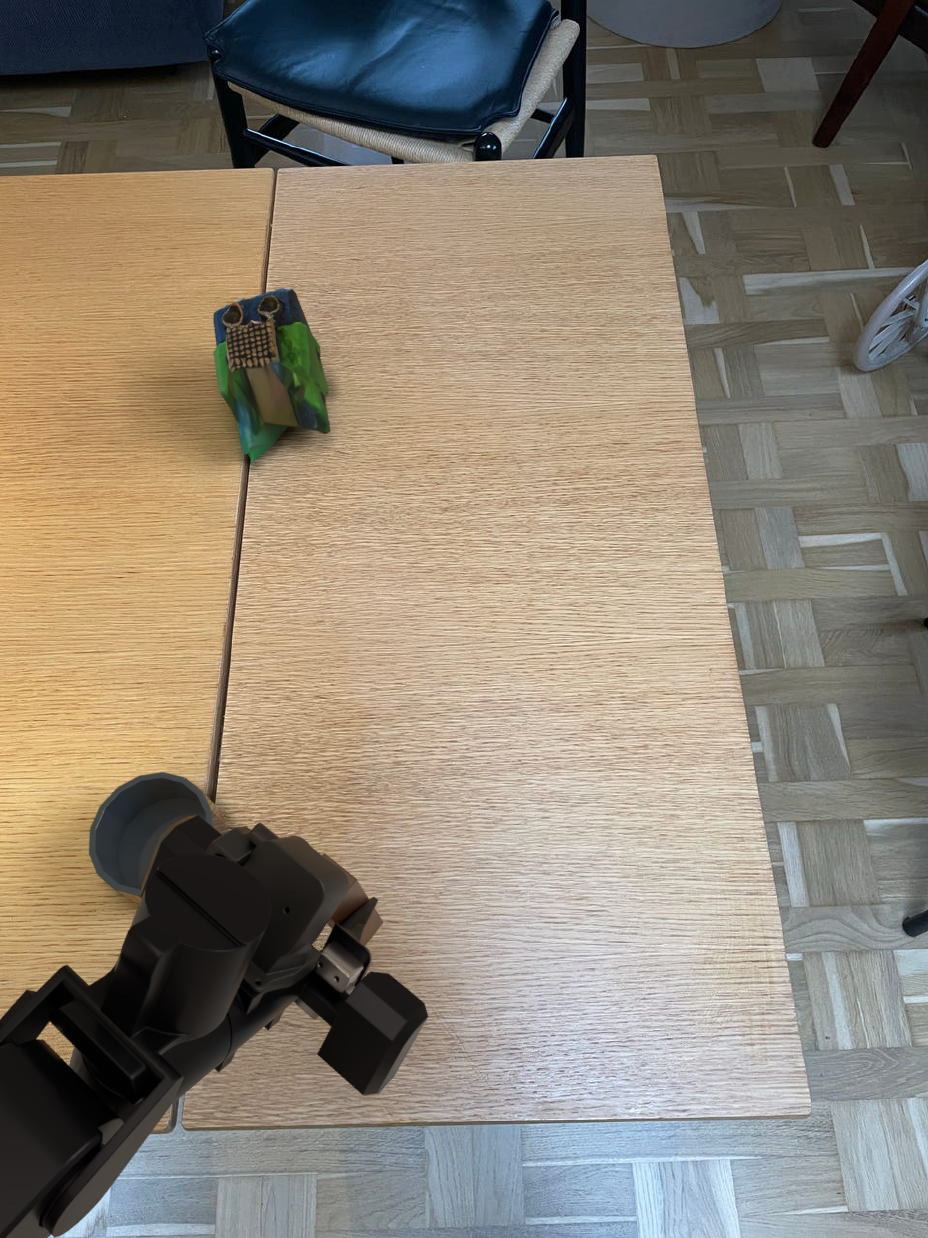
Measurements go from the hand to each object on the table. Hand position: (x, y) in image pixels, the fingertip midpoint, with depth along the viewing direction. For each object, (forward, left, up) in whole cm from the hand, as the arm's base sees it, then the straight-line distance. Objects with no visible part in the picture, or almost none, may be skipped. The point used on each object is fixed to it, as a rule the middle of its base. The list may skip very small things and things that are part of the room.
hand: (357, 889), depth 64 cm
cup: (-5, +18, -13) cm, 23 cm away
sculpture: (+34, +41, -14) cm, 54 cm away
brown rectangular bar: (-1, 0, -7) cm, 7 cm away
